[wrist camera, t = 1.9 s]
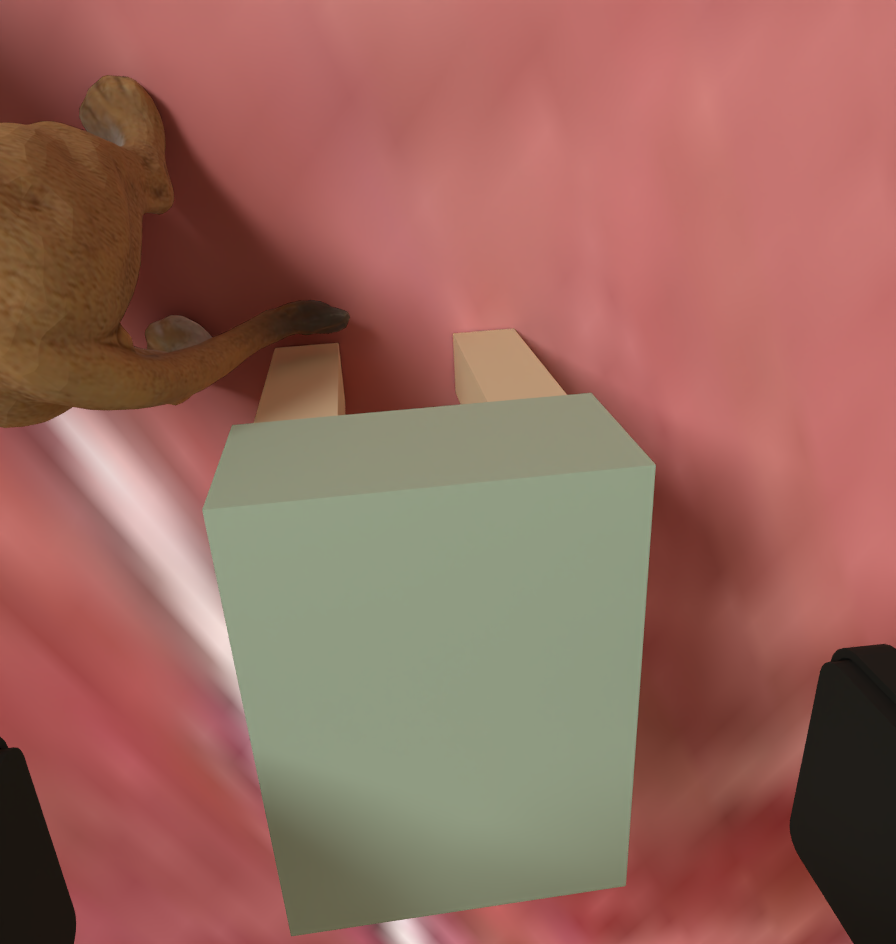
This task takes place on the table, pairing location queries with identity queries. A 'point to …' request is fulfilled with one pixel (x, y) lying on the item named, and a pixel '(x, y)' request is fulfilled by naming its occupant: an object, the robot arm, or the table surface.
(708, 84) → the table surface
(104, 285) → the lion figurine
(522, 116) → the table surface
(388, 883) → the sage stool
